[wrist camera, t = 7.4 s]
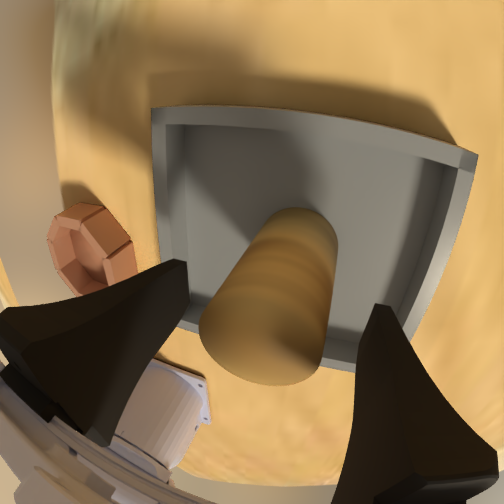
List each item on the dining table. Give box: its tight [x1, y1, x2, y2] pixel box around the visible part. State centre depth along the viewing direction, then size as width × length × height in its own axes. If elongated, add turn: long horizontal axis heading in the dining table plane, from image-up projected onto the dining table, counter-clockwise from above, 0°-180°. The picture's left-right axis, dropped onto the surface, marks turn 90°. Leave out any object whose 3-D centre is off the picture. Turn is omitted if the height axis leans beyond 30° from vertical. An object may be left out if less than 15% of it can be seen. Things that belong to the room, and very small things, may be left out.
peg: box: [198, 207, 338, 386], centre depth 12 cm, size 4×4×7 cm
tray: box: [151, 105, 478, 373], centre depth 14 cm, size 13×14×2 cm
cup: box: [47, 203, 138, 297], centre depth 20 cm, size 8×8×2 cm
